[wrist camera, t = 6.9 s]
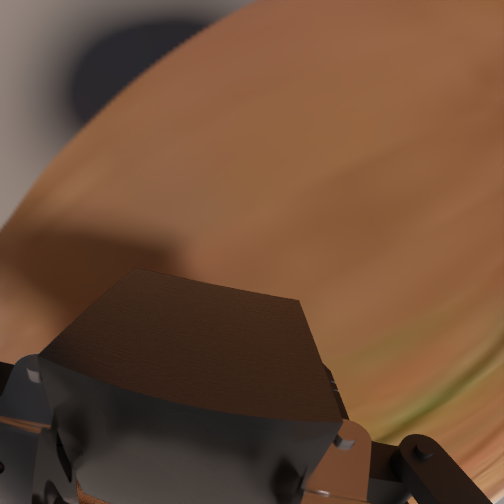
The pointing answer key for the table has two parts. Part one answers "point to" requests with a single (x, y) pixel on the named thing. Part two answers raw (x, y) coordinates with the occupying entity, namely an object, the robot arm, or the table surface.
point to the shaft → (189, 394)
